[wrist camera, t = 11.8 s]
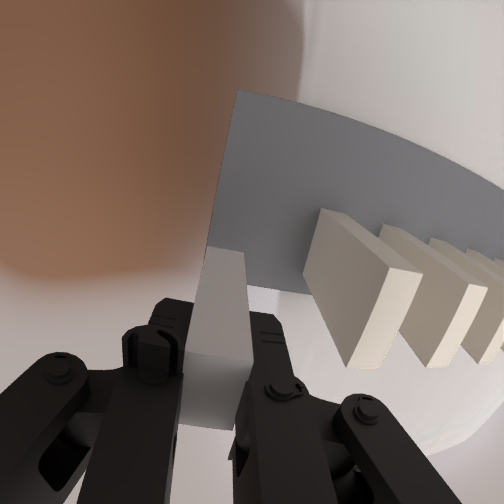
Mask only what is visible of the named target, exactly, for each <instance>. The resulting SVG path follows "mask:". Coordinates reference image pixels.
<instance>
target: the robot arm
mask: <svg viewBox="0 0 504 504" xmlns="http://www.w3.org/2000/svg"><path fill="white" fill-rule="evenodd" d="M122 352H123V367H120V368H117V369H113V370H87V368H86V366H85V364H84V362H83V361H82V360H81V359H79V358H78V357H77V356H75V355H72V354H69V353H66V352H55V353H50V354H47V355H45V356H43V357H42V358H40V359H38V360H37V361H36V362H35V363H34V364H33V365H32V366H30V367H29V369H27V370H26V371H25V372H24V373H23V374H22V375H20V376H19V377H18V378H17V379H16V380H15V381H14V382H13V383H12V384H11V385H10V386H8V387H7V389H5V390H4V391H3V392H2V393H1V394H0V504H63V503H64V502H65V500H66V498H67V497H68V495H69V494H70V493H71V491H72V489H73V488H74V487H75V485H76V484H77V482H78V481H79V479H80V478H81V476H82V475H83V473H84V472H85V470H86V472H85V476H84V479H83V482H82V486H81V489H80V493H79V496H78V500H77V504H169V503H170V493H171V484H172V474H173V466H174V458H175V450H176V442H177V430H178V423H179V424H185V425H191V426H198V427H206V428H213V429H222V430H231V431H232V430H233V427H234V424H235V428H236V429H235V430H236V436H235V439H234V441H233V444H232V447H231V450H230V453H229V457H228V460H232V463H233V504H462V503H461V502H460V500H459V499H458V498H457V497H456V495H455V494H454V493H453V491H452V490H451V489H450V487H449V486H448V485H447V484H446V482H445V481H444V480H443V478H442V477H441V476H440V475H439V473H438V472H437V471H436V469H435V468H434V467H433V466H432V464H431V463H430V462H429V460H428V459H427V458H426V457H425V455H424V454H423V453H422V451H421V450H420V449H419V448H418V446H417V445H416V444H415V442H414V441H413V440H412V439H411V437H410V436H409V435H408V434H407V432H406V431H405V430H404V428H403V427H402V426H401V425H400V423H399V422H398V421H397V420H396V418H395V417H394V416H393V414H392V413H391V412H390V411H389V409H388V408H387V407H386V406H385V405H384V404H383V403H382V402H381V401H380V400H378V399H376V398H374V397H373V396H370V395H366V394H352V395H350V396H348V397H346V398H345V399H344V401H343V402H342V403H341V404H337V403H333V402H329V401H325V400H322V399H319V398H316V397H313V396H312V395H310V394H309V392H308V390H307V388H306V386H305V384H304V383H303V382H301V381H300V380H299V379H298V378H297V377H295V376H294V373H293V369H292V365H291V361H290V357H289V353H288V349H287V345H286V341H285V337H284V333H283V329H282V325H281V323H280V322H279V321H278V320H277V318H276V317H275V316H274V315H273V314H267V313H260V312H252V311H249V305H248V295H247V283H246V272H245V261H244V252H238V251H233V250H227V249H222V248H216V247H211V246H207V250H206V254H205V258H204V263H203V267H202V271H201V276H200V280H199V285H198V290H197V294H196V298H195V303H192V302H186V301H181V300H175V299H170V298H164V299H163V300H162V301H160V302H159V303H157V304H156V305H155V308H154V310H153V312H152V316H151V318H150V320H149V322H148V325H143V326H136V327H134V328H132V329H130V330H128V331H127V332H126V333H125V334H124V335H123V337H122Z"/></svg>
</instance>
